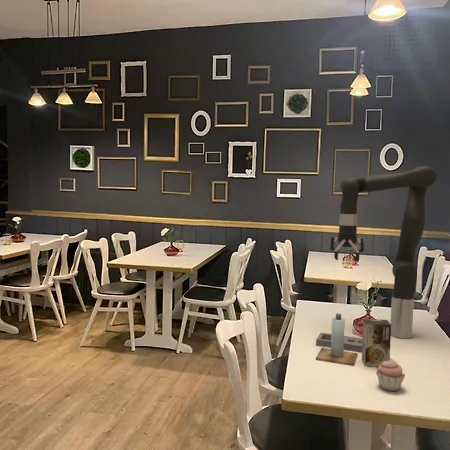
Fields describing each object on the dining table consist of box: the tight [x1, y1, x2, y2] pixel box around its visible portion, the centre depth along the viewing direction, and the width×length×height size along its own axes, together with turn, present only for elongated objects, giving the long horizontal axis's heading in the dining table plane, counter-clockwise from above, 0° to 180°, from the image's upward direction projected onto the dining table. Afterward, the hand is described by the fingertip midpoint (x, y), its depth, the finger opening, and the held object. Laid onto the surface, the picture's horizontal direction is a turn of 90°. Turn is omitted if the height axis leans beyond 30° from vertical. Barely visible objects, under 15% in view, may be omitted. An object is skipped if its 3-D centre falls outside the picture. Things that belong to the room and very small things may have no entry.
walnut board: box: [315, 347, 359, 367], centre depth 183 cm, size 14×12×1 cm
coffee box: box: [361, 318, 392, 367], centre depth 177 cm, size 9×6×16 cm
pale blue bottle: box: [330, 313, 346, 357], centre depth 183 cm, size 5×5×16 cm
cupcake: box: [375, 357, 406, 392], centre depth 157 cm, size 9×9×10 cm
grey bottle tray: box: [315, 332, 363, 353], centre depth 197 cm, size 21×10×3 cm, turn 68°
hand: (346, 260), depth 210 cm, fingers open, 8 cm apart
